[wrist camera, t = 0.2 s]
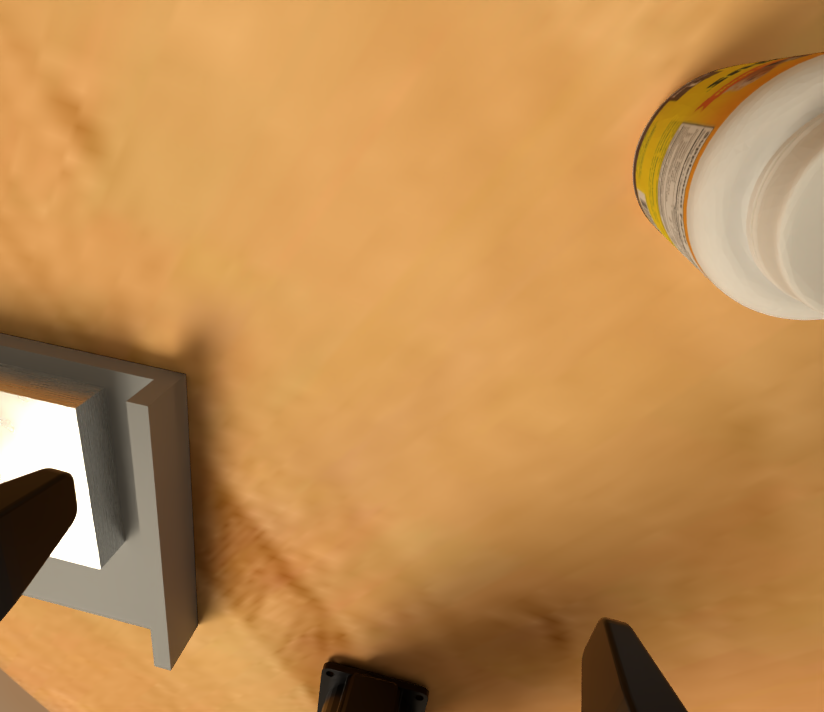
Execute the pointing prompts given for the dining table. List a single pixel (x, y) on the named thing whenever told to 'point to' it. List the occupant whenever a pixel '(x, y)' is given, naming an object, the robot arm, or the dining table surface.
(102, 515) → the cover plate
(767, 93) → the supplement bottle
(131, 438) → the slide box
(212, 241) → the dining table surface
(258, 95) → the dining table surface
